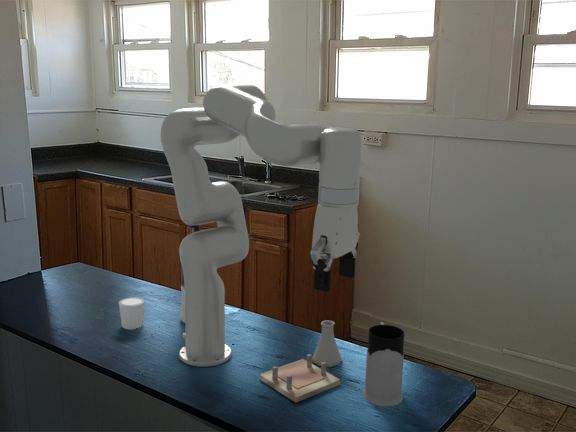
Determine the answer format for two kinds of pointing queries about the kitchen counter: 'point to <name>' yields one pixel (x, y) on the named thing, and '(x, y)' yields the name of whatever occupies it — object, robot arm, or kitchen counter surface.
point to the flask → (327, 346)
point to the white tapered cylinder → (132, 312)
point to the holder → (384, 365)
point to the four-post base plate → (300, 379)
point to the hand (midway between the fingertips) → (334, 283)
